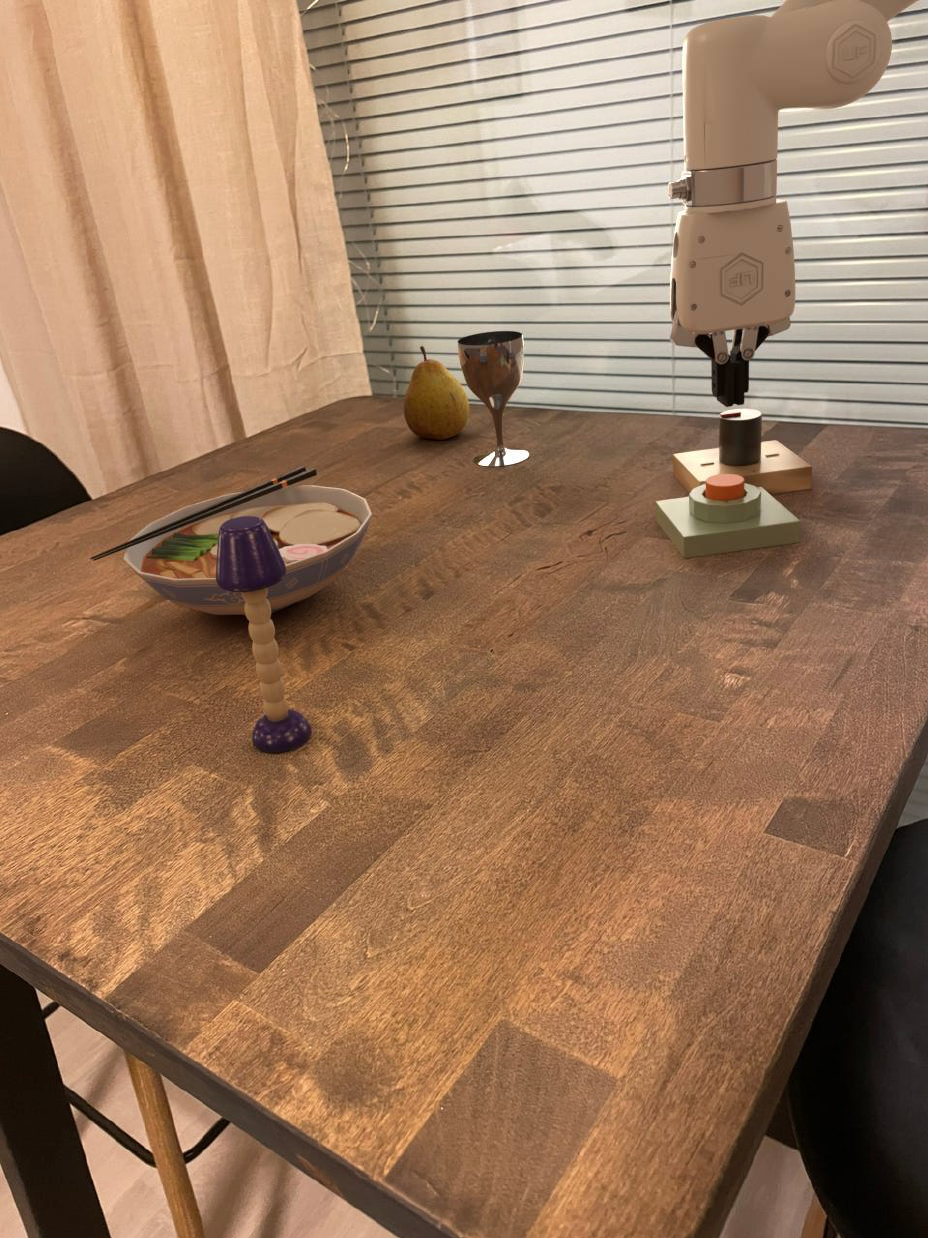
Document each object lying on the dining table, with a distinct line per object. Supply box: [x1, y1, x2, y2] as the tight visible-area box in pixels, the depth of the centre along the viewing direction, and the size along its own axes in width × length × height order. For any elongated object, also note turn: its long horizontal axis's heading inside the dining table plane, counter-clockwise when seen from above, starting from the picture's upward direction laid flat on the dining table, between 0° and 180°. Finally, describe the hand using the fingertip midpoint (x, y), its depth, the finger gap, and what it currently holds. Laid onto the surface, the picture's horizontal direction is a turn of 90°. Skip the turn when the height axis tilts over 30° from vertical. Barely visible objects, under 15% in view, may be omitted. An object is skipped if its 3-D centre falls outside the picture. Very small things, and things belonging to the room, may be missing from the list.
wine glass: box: [457, 330, 530, 468], centre depth 120 cm, size 8×8×15 cm
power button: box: [706, 474, 745, 501], centre depth 93 cm, size 4×4×2 cm
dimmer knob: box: [718, 408, 763, 466], centre depth 104 cm, size 4×4×5 cm
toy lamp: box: [216, 516, 312, 754], centre depth 67 cm, size 5×5×17 cm
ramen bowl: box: [89, 465, 373, 616], centre depth 91 cm, size 25×23×8 cm
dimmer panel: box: [672, 439, 813, 495], centre depth 106 cm, size 12×10×3 cm
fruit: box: [403, 345, 470, 441], centre depth 133 cm, size 9×9×12 cm
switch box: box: [654, 483, 801, 559], centre depth 94 cm, size 11×10×4 cm
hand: (730, 401), depth 90 cm, fingers closed
